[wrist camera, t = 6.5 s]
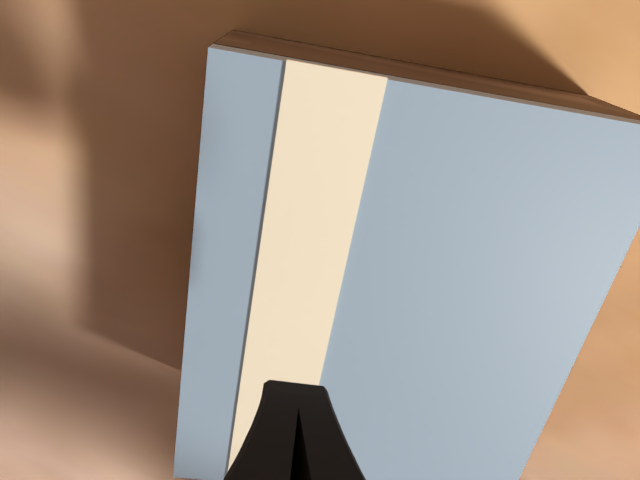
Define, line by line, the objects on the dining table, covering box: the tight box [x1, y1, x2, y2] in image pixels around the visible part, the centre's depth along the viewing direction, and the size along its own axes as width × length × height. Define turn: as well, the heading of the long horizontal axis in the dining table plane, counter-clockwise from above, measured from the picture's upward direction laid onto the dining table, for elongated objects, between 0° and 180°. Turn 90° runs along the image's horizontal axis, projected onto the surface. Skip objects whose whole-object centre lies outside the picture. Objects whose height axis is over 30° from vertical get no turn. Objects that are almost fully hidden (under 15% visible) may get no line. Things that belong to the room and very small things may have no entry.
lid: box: [173, 44, 640, 480], centre depth 16 cm, size 14×12×1 cm
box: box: [214, 30, 640, 120], centre depth 18 cm, size 14×12×4 cm
